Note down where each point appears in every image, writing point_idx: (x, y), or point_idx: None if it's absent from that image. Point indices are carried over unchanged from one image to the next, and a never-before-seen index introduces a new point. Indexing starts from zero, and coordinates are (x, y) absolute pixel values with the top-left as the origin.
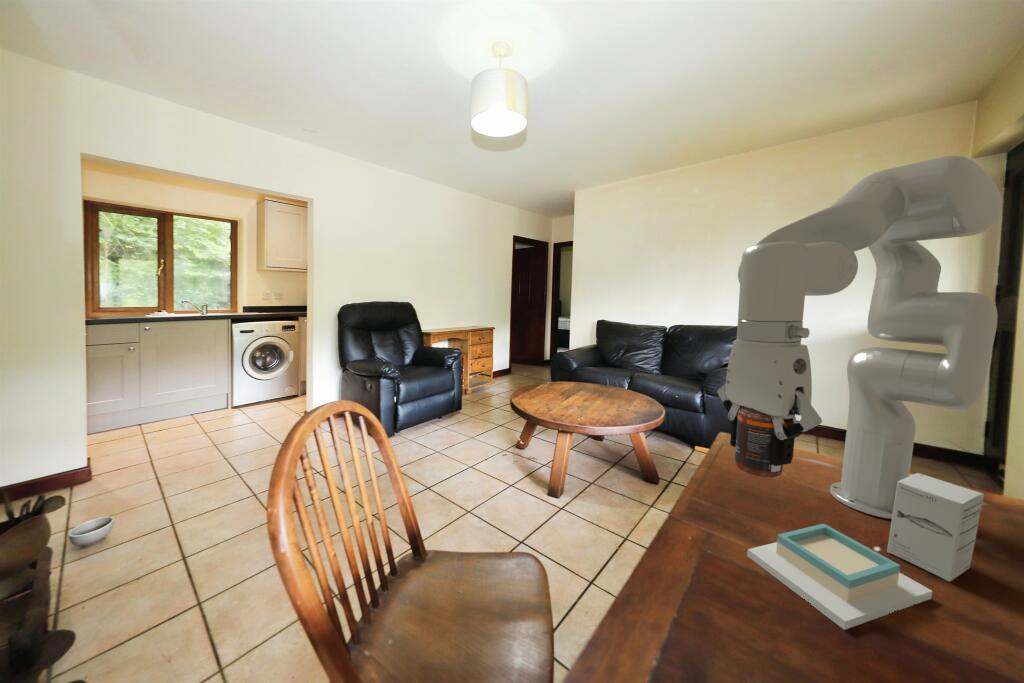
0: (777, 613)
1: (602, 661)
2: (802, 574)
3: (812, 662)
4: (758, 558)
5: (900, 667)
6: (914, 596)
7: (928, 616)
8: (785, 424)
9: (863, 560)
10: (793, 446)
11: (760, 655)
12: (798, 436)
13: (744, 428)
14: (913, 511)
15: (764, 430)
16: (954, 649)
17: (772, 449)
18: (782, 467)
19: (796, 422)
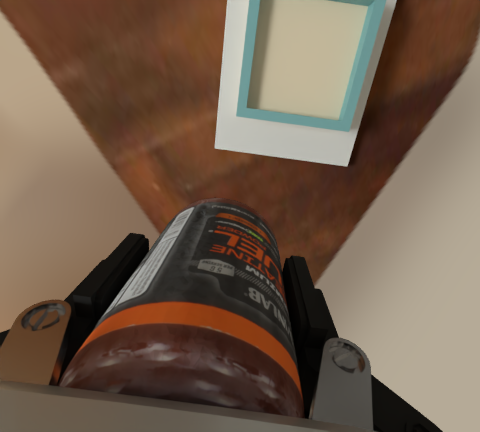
0: (293, 206)
1: None
2: (282, 128)
3: (339, 232)
4: (233, 150)
5: (392, 163)
6: (393, 10)
7: (403, 24)
8: (299, 382)
9: (334, 19)
10: (333, 325)
11: (310, 264)
12: (358, 352)
13: None
14: None
15: None
16: (431, 70)
17: None
18: (276, 244)
19: (370, 423)
